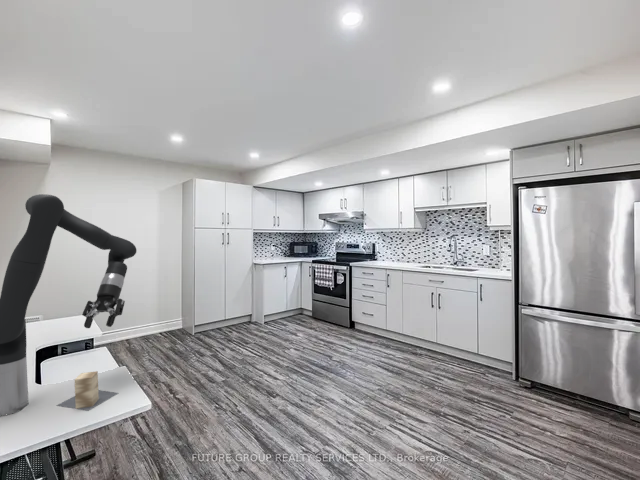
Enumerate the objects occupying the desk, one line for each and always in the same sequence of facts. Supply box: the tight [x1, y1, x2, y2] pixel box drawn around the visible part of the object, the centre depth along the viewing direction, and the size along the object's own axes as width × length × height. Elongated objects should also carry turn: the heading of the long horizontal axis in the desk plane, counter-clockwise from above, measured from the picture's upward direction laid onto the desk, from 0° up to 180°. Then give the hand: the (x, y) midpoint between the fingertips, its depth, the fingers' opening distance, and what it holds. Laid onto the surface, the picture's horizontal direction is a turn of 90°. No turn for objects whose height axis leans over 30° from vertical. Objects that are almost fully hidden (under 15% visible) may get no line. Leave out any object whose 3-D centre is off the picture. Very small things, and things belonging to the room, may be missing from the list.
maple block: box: [74, 370, 99, 410], centre depth 112 cm, size 5×5×10 cm
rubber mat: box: [56, 389, 119, 412], centre depth 115 cm, size 14×12×1 cm
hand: (97, 327), depth 120 cm, fingers open, 8 cm apart
